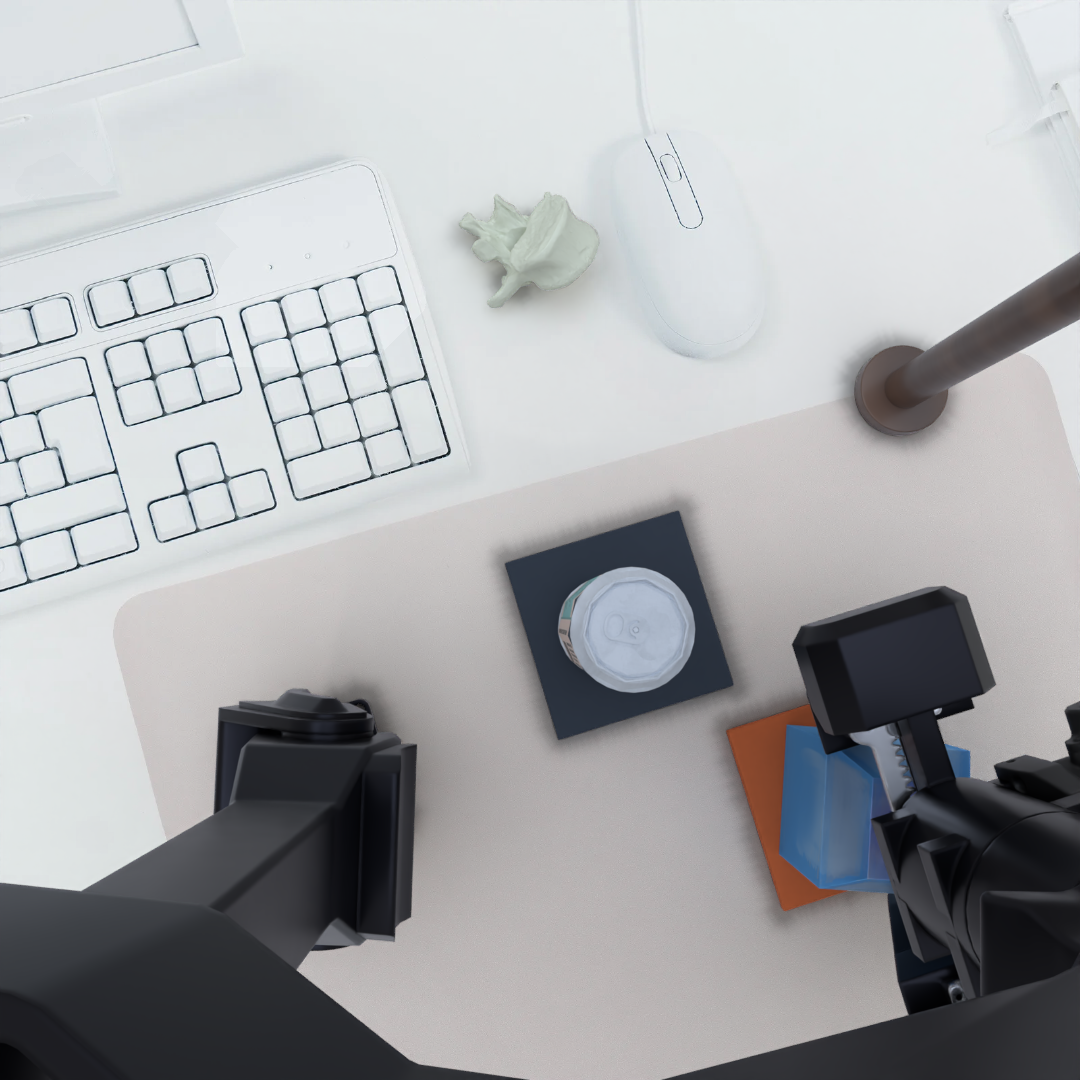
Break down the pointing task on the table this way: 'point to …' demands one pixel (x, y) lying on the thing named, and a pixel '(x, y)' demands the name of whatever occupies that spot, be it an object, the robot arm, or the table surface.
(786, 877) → the terracotta mat
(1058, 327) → the marker post
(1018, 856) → the robot arm
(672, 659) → the beer can
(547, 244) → the vertebra
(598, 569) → the slate mat
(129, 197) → the table surface
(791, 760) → the perfume bottle
